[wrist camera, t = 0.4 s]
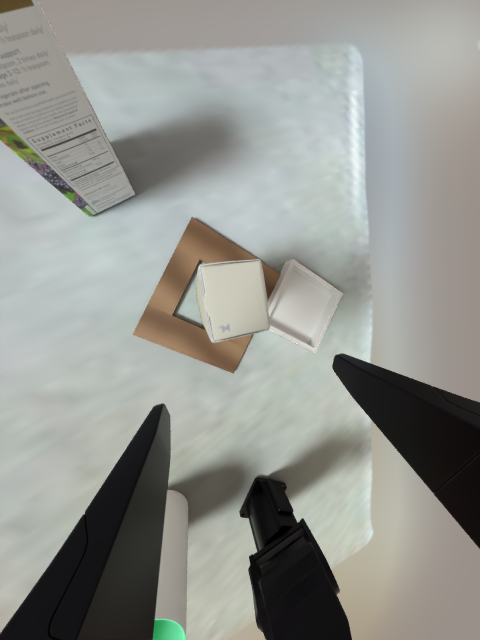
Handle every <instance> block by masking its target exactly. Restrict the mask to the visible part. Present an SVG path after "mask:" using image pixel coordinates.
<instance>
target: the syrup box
mask: <svg viewBox="0 0 480 640" xmlns="http://www.w3.org/2000/svg"><path fill="white" fill-rule="evenodd" d="M0 140H1V141H2V142H3V143H4V144H5V145H6V146H7V147H9V148H10V149H11V150H12V151H13V152H14V153H15V154H17V155H18V156H19V157H20V158H21V159H23V160H24V161H25V162H26V163H27V164H28V165H30V166H31V167H32V168H33V169H34V170H35V171H36V172H38V173H39V174H40V175H41V176H42V177H44V178H45V179H46V180H47V181H48V182H49V183H50V184H52V185H53V186H54V187H55V188H56V189H58V190H59V191H60V192H61V193H62V194H63V195H64V196H66V197H67V198H68V199H69V200H70V201H71V202H73V203H74V204H75V205H76V206H77V207H78V208H80V209H81V210H82V211H83V212H84V213H85V214H86V215H88V216H93V215H95V214H97V213H99V212H101V211H103V210H105V209H107V208H109V207H112V206H114V205H115V204H118V203H120V202H122V201H123V200H126V199H128V198H129V197H131V196H134V195H135V192H134V190H133V188H132V186H131V184H130V182H129V180H128V178H127V176H126V174H125V172H124V170H123V168H122V166H121V164H120V162H119V160H118V158H117V156H116V154H115V152H114V150H113V148H112V146H111V144H110V142H109V140H108V138H107V136H106V134H105V132H104V130H103V128H102V126H101V124H100V122H99V120H98V118H97V116H96V114H95V112H94V110H93V108H92V106H91V104H90V102H89V100H88V98H87V96H86V94H85V92H84V90H83V88H82V86H81V84H80V82H79V80H78V78H77V76H76V74H75V72H74V70H73V68H72V66H71V64H70V62H69V60H68V58H67V56H66V54H65V52H64V50H63V48H62V46H61V44H60V43H59V40H58V39H57V37H56V35H55V33H54V31H53V29H52V27H51V25H50V23H49V21H48V19H47V17H46V15H45V13H44V11H43V9H42V7H41V5H40V3H39V1H38V0H0Z"/></svg>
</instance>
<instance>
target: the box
mask: <svg viewBox="0 0 480 640" xmlns="http://www.w3.org/2000/svg"><path fill="white" fill-rule="evenodd" d="M196 293H197V299H198V304H199V310H200V315H201V320H202V323H203V325H204V327H205V329H206V332H207V334H208V336H209V338H210V340H211V342H212V343H216V342H220V341H225V340H229V339H234V338H238V337H243V336H247V335H251V334H255V333H259V332H262V331H266V330H269V328H270V320H269V311H268V303H267V295H266V288H265V281H264V274H263V269H262V263H261V260H259V259H254V260H238V261H225V262H216V263H207V264H200V265H199V266H198V271H197V282H196Z"/></svg>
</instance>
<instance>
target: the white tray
mask: <svg viewBox="0 0 480 640" xmlns="http://www.w3.org/2000/svg"><path fill="white" fill-rule="evenodd" d="M280 274H281V275H280V277H279V279H278V281H277V283H276V285H275V288H274V290H273V292H272V294H271V296H270V298H269V300H268V302H267V303H268V311H269V320H270V328H269V330H270V331H272V332H274V333H276V334H278V335H280V336H281V337H283V338H285V339H287V340H289V341H291V342H293V343H295V344H297V345H299V346H301V347H303V348H305V349H307V350H310V351H312V352H316V350H317V348H318V346H319V344H320V342H321V340H322V338H323V335H324V333H325V331H326V329H327V327H328V325H329V323H330V321H331V319H332V316H333V314H334V312H335V310H336V308H337V306H338V304H339V302H340V299H341V297H342V295H343V293H342V292H340V291H339V290H337V289H336V288H334V287H333V286H332V285H330V284H329V283H327V282H326V281H324V280H323V279H321V278H320V277H319V276H317V275H316V274H314V273H313V272H311V271H310V270H308V269H307V268H305V267H304V266H303V265H301V264H300V263H298V262H297V261H295V260H294V259H292V260H289V261H287V262H285V263H284V265H283V267H282V270H281V272H280Z"/></svg>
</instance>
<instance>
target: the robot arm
mask: <svg viewBox="0 0 480 640" xmlns="http://www.w3.org/2000/svg"><path fill="white" fill-rule="evenodd" d="M332 367H333V370H334V372H335V373H336V375H337V376H338V377H339V379H340V380H341V382H342V383H343V385H344V386H345V387H346V389H347V390H348V392H349V393H350V394H351V396H352V397H353V398H354V399H355V401H356V402H357V403H358V404H359V405H360V407H361V408H362V409H363V410H364V411H365V412H366V414H367V415H368V416H369V417H370V418H371V420H372V421H373V422H374V423H375V424H376V425H377V427H378V428H379V429H380V430H381V432H383V434H384V435H385V436H386V437H387V439H388V440H389V441H390V442H391V443H392V445H393V446H394V447H395V448H396V449H397V451H398V452H399V453H400V454H401V455H402V457H403V458H404V459H405V460H406V461H407V462H408V464H409V465H410V466H411V467H412V468H413V470H414V471H415V472H416V473H417V474H418V476H419V477H420V478H421V479H422V480H423V482H424V483H425V484H426V485H427V486H428V487H429V488H430V490H431V491H432V492H433V493H434V495H435V496H436V497H437V498H438V500H439V501H440V502H441V503H442V504H443V505H444V507H445V508H446V509H447V510H448V512H449V513H450V514H451V515H452V516H453V517H454V519H455V520H456V521H457V522H458V523H459V525H460V526H461V527H462V528H463V529H464V530H465V532H466V533H467V534H468V535H469V536H470V538H471V539H472V540H473V541H474V543H475V544H476V545H477V546H478V547H479V548H480V402H477V401H473V400H470V399H467V398H464V397H461V396H458V395H456V394H452V393H450V392H447V391H444V390H442V389H439V388H436V387H432V386H431V385H428V384H425V383H422V382H419V381H417V380H414V379H411V378H409V377H406V376H403V375H401V374H398V373H395V372H392V371H390V370H387V369H384V368H381V367H379V366H376V365H373V364H370V363H368V362H365V361H362V360H360V359H357V358H354V357H351V356H349V355H346V354H338V355H335V357H334V361H333V365H332ZM170 451H171V448H170V414H169V412H168V410H167V408H166V406H165V404H159V405H156V406H154V407H153V408H152V410H151V411H150V413H149V415H148V416H147V418H146V419H145V421H144V422H143V424H142V425H141V427H140V428H139V430H138V431H137V433H136V434H135V436H134V437H133V439H132V441H131V442H130V444H129V445H128V447H127V448H126V450H125V451H124V453H123V454H122V456H121V457H120V459H119V460H118V462H117V464H116V465H115V467H114V468H113V470H112V471H111V473H110V474H109V476H108V477H107V479H106V480H105V482H104V483H103V485H102V486H101V488H100V490H99V491H98V493H97V494H96V496H95V497H94V499H93V500H92V502H91V503H90V505H89V506H88V508H87V509H86V511H85V514H84V515H82V517H81V518H80V520H79V522H78V523H77V525H76V526H75V528H74V529H73V531H72V532H71V534H70V535H69V537H68V538H67V540H66V541H65V543H64V544H63V546H62V547H61V549H60V550H59V552H58V553H57V555H56V556H55V558H54V559H53V560H52V562H51V563H50V565H49V566H48V568H47V569H46V570H45V572H44V573H43V575H42V576H41V577H40V579H39V580H38V582H37V583H36V585H35V586H34V587H33V589H32V590H31V592H30V593H29V594H28V596H27V597H26V599H25V600H24V601H23V603H22V604H21V606H20V607H19V608H18V610H17V611H16V612H15V614H14V615H13V617H12V618H11V619H10V621H9V622H8V624H7V625H6V626H5V628H4V629H3V630H2V632H1V633H0V640H153V632H154V622H155V612H156V601H157V591H158V581H159V571H160V560H161V550H162V540H163V529H164V519H165V509H166V499H167V488H168V478H169V468H170ZM286 488H287V486H286V484H285V483H282V482H277V481H271V480H266V479H261V478H256V479H255V480H254V482H253V484H252V487H251V489H250V491H249V493H248V495H247V497H246V499H245V501H244V504H243V506H242V508H241V510H240V517H243V518H249V521H250V525H251V529H252V533H253V537H254V541H255V544H256V548H257V552H256V553H255V554H254V555H253V554H252V555H251V556H249V560H250V567H249V569H248V570H249V575H250V580H251V585H252V591H253V599H254V608H255V617H256V623H257V626H258V628H259V629H260V630H261V631H262V632H263V633H264V636H265V639H266V640H352V637H351V632H350V627H349V622H348V619H347V617H346V615H345V612H344V610H343V608H342V606H341V604H340V601H339V599H338V597H337V594H338V593H339V592H340V590H339V587H338V585H337V582H336V580H335V578H334V575H333V573H332V571H331V569H330V566H329V564H328V562H327V560H326V558H325V556H324V554H323V552H322V551H321V549H320V547H319V545H318V543H317V542H316V540H315V538H314V536H313V535H312V533H311V531H310V529H309V528H308V526H307V524H306V522H305V521H304V519H303V518H302V519H301V520H300V522H298V523H297V521H296V519H295V517H294V514H293V508H292V506H291V504H290V502H289V500H288V498H287V496H286V494H285V491H286Z"/></svg>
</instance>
